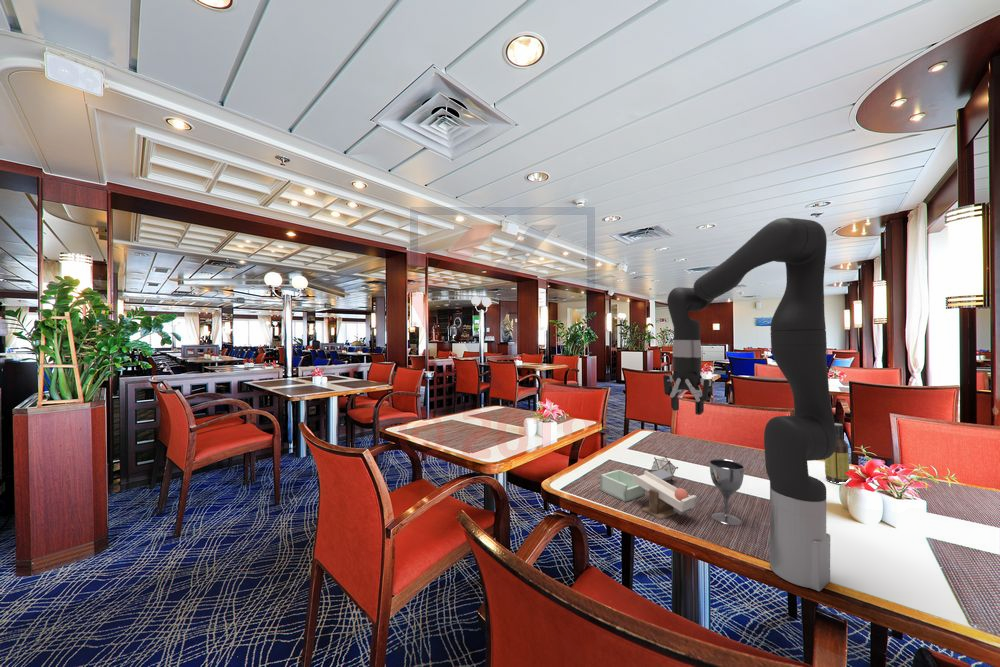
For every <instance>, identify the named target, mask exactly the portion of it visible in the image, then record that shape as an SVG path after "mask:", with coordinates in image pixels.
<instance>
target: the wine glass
mask: <svg viewBox="0 0 1000 667" xmlns="http://www.w3.org/2000/svg"><path fill="white" fill-rule="evenodd" d="M744 470H745V466H744V465H743V464H741V463H740V462H737V461H735V460H731V459H722V458H714V459H710V460H709V473H710V479H711V481H712V483H713V485H714V486H715V488H716V489H717V490H718V491H719V492H720V494H721V495H722V498H723V502H724V512H723V511H722V512H721V511H719V512H718V511H717V512H712V513H711V518H712V519H713V520H714V521H716V522H717V523H721V524H723V525H728V526H740V525H742V524H743V521H742V519H740V517H738V516H736V515H733V514H731V513H729V504H730V503H729V501H730V499H731V497H732V496H733V494H735V493H736V492H738V490H740V489H741V487H742V486H743V480H744V477H745V474H744V473H745V471H744Z"/></svg>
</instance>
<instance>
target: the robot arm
mask: <svg viewBox="0 0 1000 667" xmlns="http://www.w3.org/2000/svg"><path fill="white" fill-rule="evenodd" d="M827 243H828V242H827V233H826V230H825V228H824V226H823V225H822V224H821V223H820V222H817V221H815V220H812V219H805V218H794V217H781V218H776V219H774V220H772V221H770V222H769V223H767V224H766V225H765V226H763V227H762V228H761V229H760V230H759V231H757V232H756V233H755V234H754V235H753V236H752V237H750V238H749V239H748V240H747V241H746V242H745V243H744V244H743V245H742V246H741V247H740V248H738V249H737V250H736V251H735V252H734V253H732V254H731V255H730V256H729V257H728V258H727V259H725V260H724V261H723V262H722V263H720V264H719V265H717V266H715V267H714V268H712V269H711V270H709V271H708V272H706V273H704V274H703V275H701V276H700V277H698V278H697V279H696V280H695V281H694V283H693V287H674V288H672V289H671V291H670V292H669V293H668V296H667V302H666V303H667V307H668V311H669V315H670V319H671V323H672V325H673V343H672V370H673V374H672V375H671V374H665V375H663V377H662V378H663V379H662V380H663V391H664V394H665V395H666V396H668V397H669V398H670V408H671V409H672V410H673V411H675V412H676V411H677V412H678V411H679V410H680V397H679V395H680V394H681V392H682V391H683V390H686V391H690V393H691V395H693V397H694V398H695V402H694V404H695V405H694V406H695V408H694V410H695V415H698V416H700V415H702V414H703V413H704V410H705V409H704V408H705V407H704V406H705V404H704V402H705V401H710V400H711V399H712V391H713V385H714V382H713V379H712V378H705V377H704V378H703V377H702V374H701V373H702V345H701V324H700V322H699V321H698V320H696V319H692V318H691V317H690V315H689V313H691V312H692V313H695V312H699V311H702V310H704V309H706V308H707V307H708V306H709V305H710V304H712V302H713V301H714V300H715V299H717V298H718V297H721V296H722V295H724V294H726V293H728V292H730V291H731V290H733V289H734V288H736V287H737V286H738V285H739V284H740V283H741V282H742V280H743V278H744V277H745V276H746V275H747V274H748V273H749V272H751V271H752V270H755V269H756V268H758V267H760V266H762V265H766V264H769V263H771V262H777V263H785V271H786V286H785V290H784V293H783V295H782V298H781V300H780V301H779V303H778V305H777V307H776V309H775V311H774V314H773V316H772V318H771V322H770V350H771V354H772V358H773V360H774V361H775V363H776V365H777V367H778V368H779V371H781V373H782V375H783V376H784V378H785V379H786V382H787V383H788V384H789V386H790V389H791V392H792V397H793V415H779V416H774V417H772V418H769V420H768V421H767V423H766V424H765V427H764V433H763V446H764V448H763V449H764V460H765V462H764V463H765V464H764V465H765V469H766V470H765V471H766V474H767V477H768V479H769V568H770V569H771V570H772V572H773V573H774V574H775V575H777V576H778V577H779V578H782V579H783V580H784V581H787V582H789V583H791V584H793V585H796V586H800V587H803V588H807V589H808V588H809V589H811V590H815V591H816V592H821V591H822V590H823V589H824V588H825V587H826V586H827V585H828V584H829V583H830V582H831V535H830V534H829V533H827V486H826V485H825V483H824V482H823V481H821V479H818V478H817V477H813V476H811V475H809V466H808V465H809V464H808V461H809V462H810V461H822V460H825V459H826V458H829V457H830V456H831V455H832V454H833V453H834V451H835V449H836V445H837V435H836V428H835V423H836V422H835V418H834V412H833V407H832V402H831V396H830V395H831V394H830V387H829V386H830V385H829V372H828V371H829V370H828V363H827V362H828V361H827V359H828V358H827V356H828V354H827V346H828V345H827V344H828V343H827V330H826V329H827V328H826V317H825V315H826V314H825V288H824V287H825V286H824V284H825V283H824V282H825V269H826V268H825V266H826V260H827V258H826V256H827ZM688 312H689V313H688ZM673 382H674V385H673ZM700 384H701V385H700ZM700 386H702V389H701V387H700Z"/></svg>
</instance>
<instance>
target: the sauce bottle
mask: <svg viewBox="0 0 1000 667" xmlns="http://www.w3.org/2000/svg"><path fill="white" fill-rule="evenodd" d="M835 428H836V435H837V445H836V449H835V451H834V453H833V454H832V455H831V456H830V457H829V458H826V459H824V473H825V480H826V479H827V480H829V481H832V482H836V483H839V482H846V481H847V480H848V479H849V480H850V478H849V476H848V475H846V474H845V473H846V472H849V473H850V453H849V445H848V443H847V442H846V440H845V439H844V425H843V423H838V422H835ZM827 480H826V481H827ZM829 481H828V482H829Z"/></svg>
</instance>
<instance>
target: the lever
mask: <svg viewBox="0 0 1000 667" xmlns="http://www.w3.org/2000/svg"><path fill="white" fill-rule="evenodd" d="M632 475H633V477H632V482H634V483H636V484H637V485H639V486H641V487H642V488H644V489H645V491H647V492H649V490H650V489H652V490H654V491H657V492H659V498H660V499H662V500H663V501H665V502H666V503H668V504H670V505H671V506H673V507H674V511H675V512H677V513H676V514H679V515H683V514H686V513H687V512H690V511H691V510H692V509H693V508H695V507H696V503H697V497H698V496H697V495H695V494H692V495H690V494H688V497H687V498H685V499H682V500H681V501H679V500H677V499H676V497H675V491H676V489H678V487H676V486H675V485H672V484H670V483H669V482H667V481H669V480H668V479H671V478H672V479H673V478H674V477H673V476H674V475H672V474H670V473H668V472H666V471H665V470H663V469H661V470H657V471H654V472H651V471H650V472H649V470H644V472H643V474H640V475H637V474H636V473H633V474H632ZM674 486H675V487H674Z"/></svg>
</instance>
